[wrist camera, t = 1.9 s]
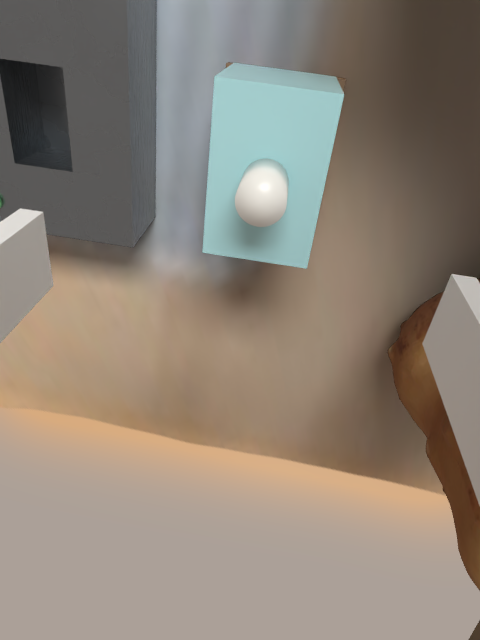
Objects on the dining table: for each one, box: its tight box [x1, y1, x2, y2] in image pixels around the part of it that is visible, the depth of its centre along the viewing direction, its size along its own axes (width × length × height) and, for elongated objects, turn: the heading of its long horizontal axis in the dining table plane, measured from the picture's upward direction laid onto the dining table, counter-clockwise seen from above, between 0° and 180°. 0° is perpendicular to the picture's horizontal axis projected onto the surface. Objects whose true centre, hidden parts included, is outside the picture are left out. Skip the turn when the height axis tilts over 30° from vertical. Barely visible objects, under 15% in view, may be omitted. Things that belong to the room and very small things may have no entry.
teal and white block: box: [202, 63, 344, 269], centre depth 27 cm, size 6×9×14 cm, turn 174°
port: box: [0, 0, 156, 247], centre depth 31 cm, size 12×16×6 cm
